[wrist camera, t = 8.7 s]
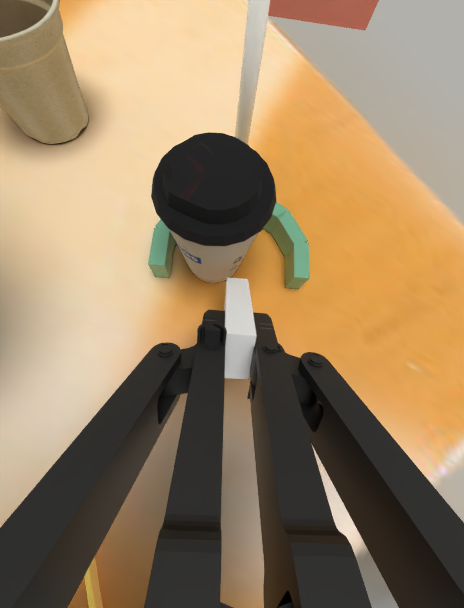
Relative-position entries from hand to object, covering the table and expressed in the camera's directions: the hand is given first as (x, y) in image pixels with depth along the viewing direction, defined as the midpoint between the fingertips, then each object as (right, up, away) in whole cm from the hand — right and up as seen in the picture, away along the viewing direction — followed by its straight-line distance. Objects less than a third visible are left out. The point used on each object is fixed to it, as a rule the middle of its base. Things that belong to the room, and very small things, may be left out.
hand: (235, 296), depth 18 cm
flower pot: (-18, +18, +7) cm, 26 cm away
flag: (+2, +10, +7) cm, 12 cm away
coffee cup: (-2, +3, +5) cm, 6 cm away
